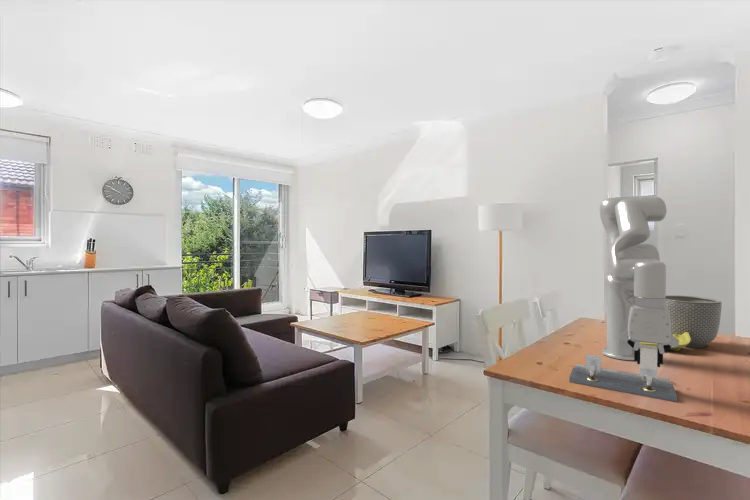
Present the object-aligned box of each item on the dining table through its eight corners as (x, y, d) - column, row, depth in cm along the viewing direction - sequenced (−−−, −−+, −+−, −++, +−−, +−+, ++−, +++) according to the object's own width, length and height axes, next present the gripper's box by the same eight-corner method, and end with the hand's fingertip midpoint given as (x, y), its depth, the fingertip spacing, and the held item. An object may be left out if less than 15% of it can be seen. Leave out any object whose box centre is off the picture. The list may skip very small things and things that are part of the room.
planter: (714, 342, 156) (715, 297, 156) (726, 354, 140) (727, 304, 139) (656, 335, 167) (656, 293, 166) (660, 346, 150) (661, 300, 150)
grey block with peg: (640, 386, 106) (640, 351, 105) (639, 377, 112) (639, 344, 112) (658, 389, 103) (658, 353, 103) (655, 380, 110) (656, 346, 110)
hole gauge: (569, 381, 115) (569, 359, 115) (573, 371, 123) (573, 351, 123) (676, 401, 100) (677, 376, 100) (672, 389, 109) (673, 365, 109)
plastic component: (629, 342, 149) (627, 327, 157) (630, 356, 152) (627, 340, 159) (693, 346, 139) (687, 329, 146) (692, 361, 141) (687, 344, 149)
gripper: (615, 302, 110) (614, 362, 111) (688, 307, 101) (686, 374, 102) (615, 298, 117) (614, 356, 117) (684, 303, 107) (683, 366, 108)
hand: (648, 363), depth 109 cm, fingers closed on grey block with peg, 4 cm apart
